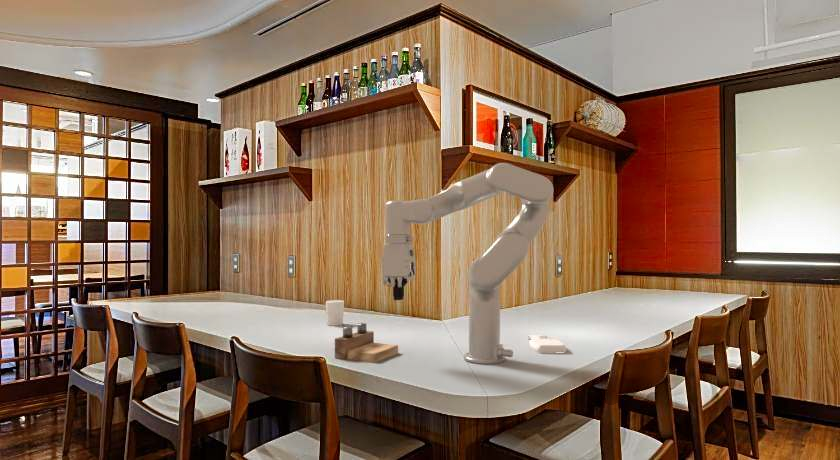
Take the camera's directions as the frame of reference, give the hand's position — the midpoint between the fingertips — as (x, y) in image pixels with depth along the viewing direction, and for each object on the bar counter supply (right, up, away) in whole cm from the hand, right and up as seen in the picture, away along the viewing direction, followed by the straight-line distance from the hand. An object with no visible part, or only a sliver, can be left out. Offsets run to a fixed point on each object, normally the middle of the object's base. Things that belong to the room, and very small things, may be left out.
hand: (398, 299), depth 162 cm
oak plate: (-8, -19, +4) cm, 21 cm away
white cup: (-30, -19, +63) cm, 73 cm away
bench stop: (-14, -18, +7) cm, 24 cm away
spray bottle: (+50, -19, +20) cm, 57 cm away
